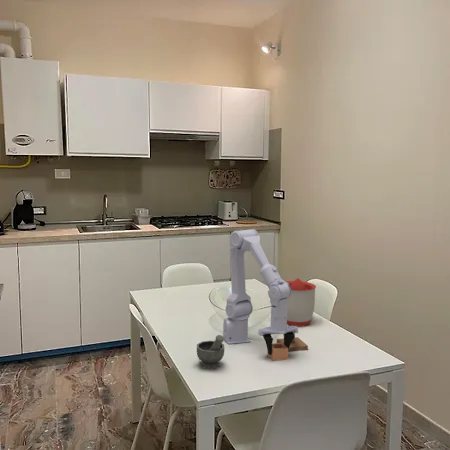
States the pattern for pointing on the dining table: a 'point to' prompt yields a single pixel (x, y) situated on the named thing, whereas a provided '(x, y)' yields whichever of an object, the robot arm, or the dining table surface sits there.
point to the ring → (279, 352)
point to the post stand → (295, 344)
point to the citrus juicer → (300, 303)
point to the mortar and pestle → (211, 352)
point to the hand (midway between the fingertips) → (277, 353)
